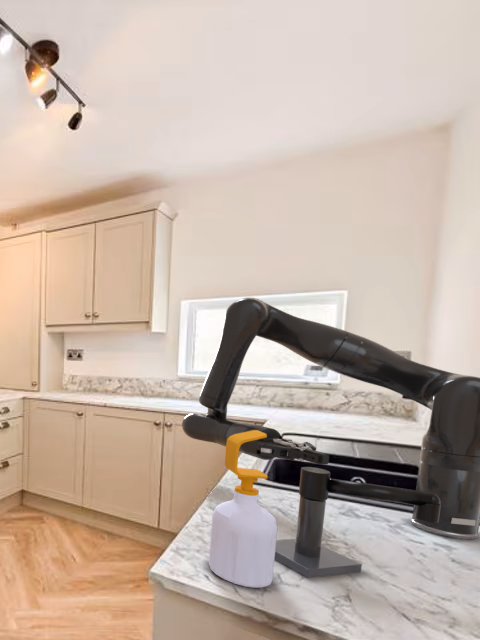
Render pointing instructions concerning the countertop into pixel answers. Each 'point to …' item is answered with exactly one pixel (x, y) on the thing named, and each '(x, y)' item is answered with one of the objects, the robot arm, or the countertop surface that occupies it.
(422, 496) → the spout
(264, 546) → the soap bottle
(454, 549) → the countertop surface
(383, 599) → the countertop surface
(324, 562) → the faucet base
